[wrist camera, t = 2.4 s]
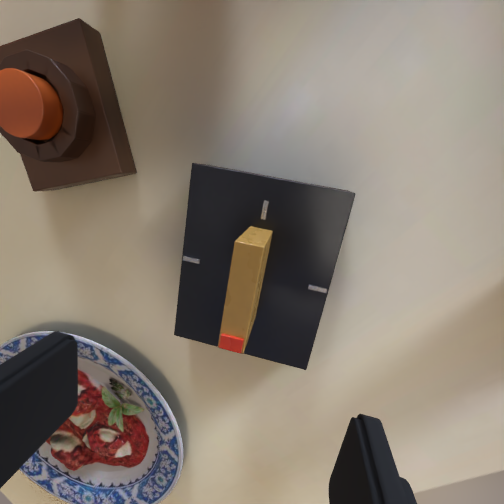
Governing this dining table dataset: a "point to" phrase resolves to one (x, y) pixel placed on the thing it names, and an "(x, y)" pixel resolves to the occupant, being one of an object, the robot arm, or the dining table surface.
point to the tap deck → (278, 262)
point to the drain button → (28, 105)
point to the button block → (72, 108)
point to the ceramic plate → (107, 434)
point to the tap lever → (244, 288)
